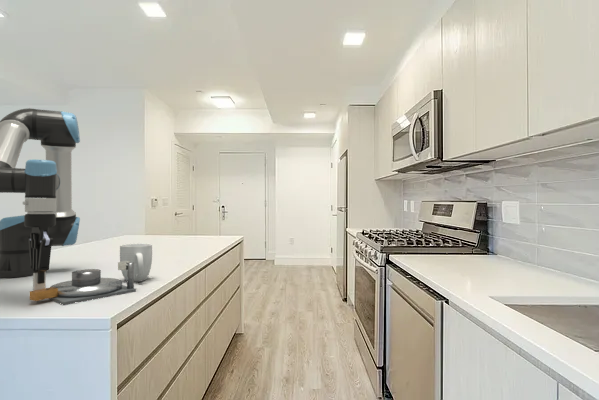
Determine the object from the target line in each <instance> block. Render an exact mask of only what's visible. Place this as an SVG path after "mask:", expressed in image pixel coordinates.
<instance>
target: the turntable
mask: <svg viewBox="0 0 599 400" xmlns="http://www.w3.org/2000/svg"><path fill="white" fill-rule="evenodd" d="M122 285H123V280H121V279H120V278H115V277H114V278H113V277H101V283H100V284H97V285H92V286H83V287H76V286H72V279H71V280H67V281H61V282H58V283H55V284H52V285H50V287H45V289H39V290H34V291H33V290H30V291H29V301H33V302H40V301H44V300H49V298H53V297H58V296H60V297H80V296H91V295H98V294H104V293H108V292H112V291H115V290H118V289H120V288H121V287H122Z"/></svg>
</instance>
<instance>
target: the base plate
mask: <svg viewBox="0 0 599 400" xmlns="http://www.w3.org/2000/svg"><path fill="white" fill-rule="evenodd" d="M135 292H137V288H135V287H134V288H132V289H127V285H124V284H122V287H121V288H120V289H118V290H115V291H112V292H108V293H104V294H98V295H91V296H80V297H60V296H58V297H53V298H48V300H51V301H53V302H55V301H56V302H55V303H57V302H58V303H57V304H60V303H61V304H60V305H62V304H63V305H62V306H66V305H65V304H67V305H71V304H70V303H72V304H76V303H75V302H78V303H82V302H81V301H83V302H87V300H88V301H92V299H93V300H97V299H98V298H99V299H103V297H104V298H110V297H114V296H119V295H124V294H129V293H135Z"/></svg>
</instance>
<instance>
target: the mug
mask: <svg viewBox="0 0 599 400" xmlns="http://www.w3.org/2000/svg"><path fill="white" fill-rule="evenodd" d="M121 261H130V262H134V283H135V282H136V283H138V282H143V281H145V280H147V278H148V277H149V275H150V272H151V268H152V264H153V263H152V262H153V244H152V243H142V242H135V243H134V242H133V243H125V244H120V245H119V262H121ZM120 271H121V273H122V274H121V275H122V276H123V278H124V280H125V281H126V282H127V270H120Z"/></svg>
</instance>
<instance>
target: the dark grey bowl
mask: <svg viewBox="0 0 599 400" xmlns="http://www.w3.org/2000/svg"><path fill="white" fill-rule="evenodd" d="M101 273H102V271H101V269H98V268H97V269H96V268H91V269H90V268H86V269H85V268H84V269H79V270H74V271H72V272H71V280H72V286H76V287H83V286H92V285H97V284H100V283H101V278H102V276H101V275H102V274H101Z"/></svg>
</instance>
